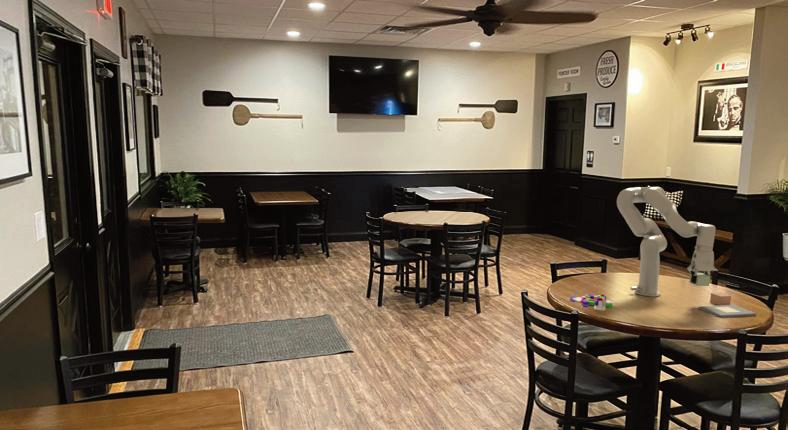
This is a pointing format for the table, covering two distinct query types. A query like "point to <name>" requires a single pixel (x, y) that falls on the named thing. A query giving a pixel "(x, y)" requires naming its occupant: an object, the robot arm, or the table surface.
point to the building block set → (594, 301)
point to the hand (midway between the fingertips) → (699, 282)
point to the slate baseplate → (727, 311)
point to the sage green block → (701, 279)
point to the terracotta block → (720, 299)
